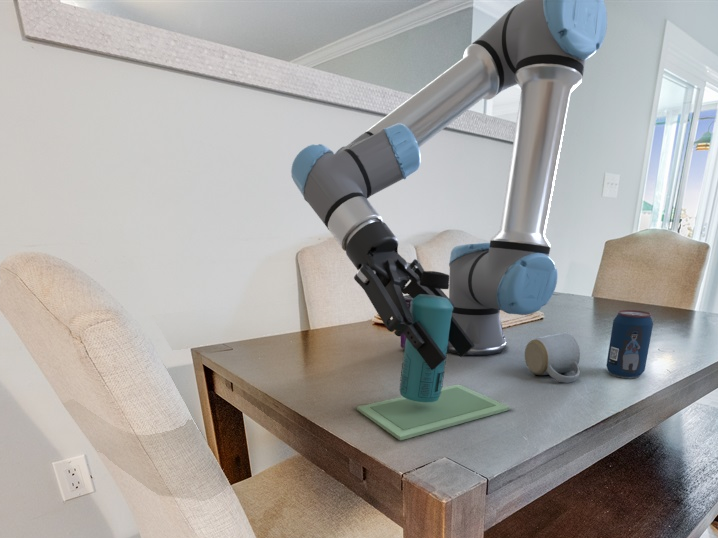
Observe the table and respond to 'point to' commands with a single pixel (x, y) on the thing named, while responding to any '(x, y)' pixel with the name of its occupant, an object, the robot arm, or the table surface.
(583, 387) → the table surface
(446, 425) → the scrub mat
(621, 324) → the soda can
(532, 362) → the ceramic mug
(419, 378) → the beverage bottle
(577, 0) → the robot arm
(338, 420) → the table surface
